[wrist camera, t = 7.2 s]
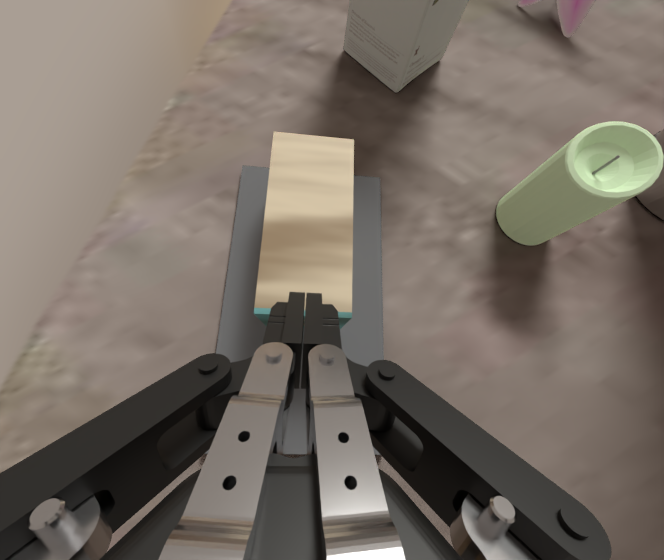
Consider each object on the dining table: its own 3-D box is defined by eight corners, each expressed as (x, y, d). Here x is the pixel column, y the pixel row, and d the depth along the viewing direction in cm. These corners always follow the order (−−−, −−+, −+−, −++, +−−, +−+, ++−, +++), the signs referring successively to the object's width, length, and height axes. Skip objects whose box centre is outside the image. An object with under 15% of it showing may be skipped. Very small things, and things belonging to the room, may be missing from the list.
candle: (518, 255, 23) (627, 200, 15) (483, 205, 24) (569, 130, 16) (562, 232, 24) (685, 169, 17) (527, 185, 25) (627, 105, 18)
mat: (382, 452, 18) (385, 454, 18) (204, 450, 17) (201, 453, 17) (378, 182, 24) (380, 177, 23) (244, 170, 23) (242, 165, 22)
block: (351, 318, 15) (354, 139, 18) (253, 313, 14) (273, 131, 18) (340, 329, 20) (343, 186, 23) (266, 326, 19) (280, 181, 22)
